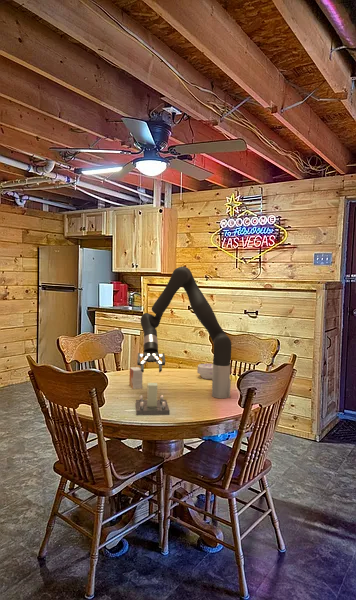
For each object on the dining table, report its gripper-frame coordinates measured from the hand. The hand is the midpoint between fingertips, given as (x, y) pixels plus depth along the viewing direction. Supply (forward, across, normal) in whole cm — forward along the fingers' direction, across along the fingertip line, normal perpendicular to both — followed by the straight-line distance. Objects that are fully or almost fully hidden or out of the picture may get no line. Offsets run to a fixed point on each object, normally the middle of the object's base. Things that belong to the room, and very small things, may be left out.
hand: (151, 371), depth 210 cm
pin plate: (+19, 0, +3) cm, 19 cm away
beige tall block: (+18, 0, +2) cm, 18 cm away
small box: (-10, -7, +32) cm, 34 cm away
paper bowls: (-25, +40, +48) cm, 67 cm away
